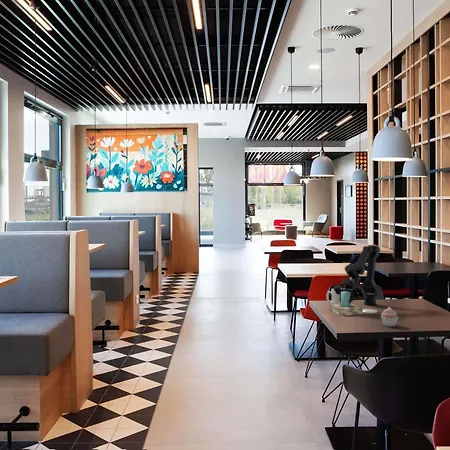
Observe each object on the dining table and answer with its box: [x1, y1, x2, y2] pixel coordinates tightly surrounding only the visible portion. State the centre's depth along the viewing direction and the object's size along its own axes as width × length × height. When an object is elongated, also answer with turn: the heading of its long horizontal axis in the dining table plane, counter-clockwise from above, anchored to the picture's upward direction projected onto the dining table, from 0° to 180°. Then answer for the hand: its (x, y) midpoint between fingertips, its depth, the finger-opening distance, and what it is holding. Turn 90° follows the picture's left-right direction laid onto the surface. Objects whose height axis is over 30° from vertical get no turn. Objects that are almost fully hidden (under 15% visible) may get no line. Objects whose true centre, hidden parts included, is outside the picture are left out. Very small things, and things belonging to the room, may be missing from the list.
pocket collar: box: [329, 303, 364, 317], centre depth 295 cm, size 14×14×4 cm
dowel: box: [341, 291, 351, 308], centre depth 295 cm, size 5×5×12 cm
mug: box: [326, 287, 341, 305], centre depth 312 cm, size 10×7×12 cm, turn 73°
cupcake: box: [380, 306, 399, 328], centre depth 258 cm, size 9×9×10 cm
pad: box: [363, 308, 378, 314], centre depth 296 cm, size 10×10×1 cm
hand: (344, 302), depth 294 cm, fingers open, 6 cm apart
